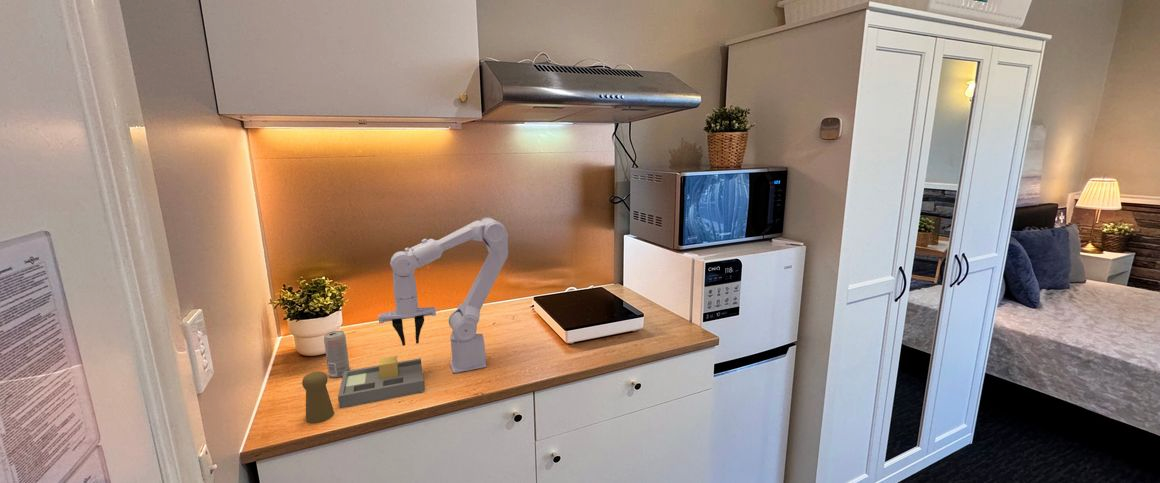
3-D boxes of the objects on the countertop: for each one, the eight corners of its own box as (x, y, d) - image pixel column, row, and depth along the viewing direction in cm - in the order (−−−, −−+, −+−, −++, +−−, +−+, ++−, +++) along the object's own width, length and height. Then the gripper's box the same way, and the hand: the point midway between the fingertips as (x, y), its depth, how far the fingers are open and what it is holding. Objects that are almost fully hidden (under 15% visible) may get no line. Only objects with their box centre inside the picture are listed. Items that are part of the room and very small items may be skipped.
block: (398, 368, 131) (396, 355, 130) (398, 376, 126) (396, 362, 126) (380, 371, 129) (379, 358, 128) (380, 379, 125) (378, 365, 124)
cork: (310, 411, 114) (304, 369, 112) (337, 407, 115) (331, 366, 113) (301, 425, 108) (295, 382, 106) (330, 421, 110) (324, 378, 107)
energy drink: (344, 367, 136) (339, 329, 134) (353, 372, 133) (348, 333, 130) (325, 374, 132) (320, 335, 130) (334, 380, 129) (328, 339, 126)
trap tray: (421, 368, 135) (420, 358, 134) (424, 391, 122) (423, 380, 121) (345, 382, 128) (343, 371, 127) (339, 408, 115) (337, 396, 114)
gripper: (432, 288, 132) (436, 333, 134) (377, 295, 127) (382, 341, 129) (434, 295, 125) (438, 343, 128) (376, 303, 120) (381, 352, 123)
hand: (410, 343), depth 128 cm, fingers open, 3 cm apart
